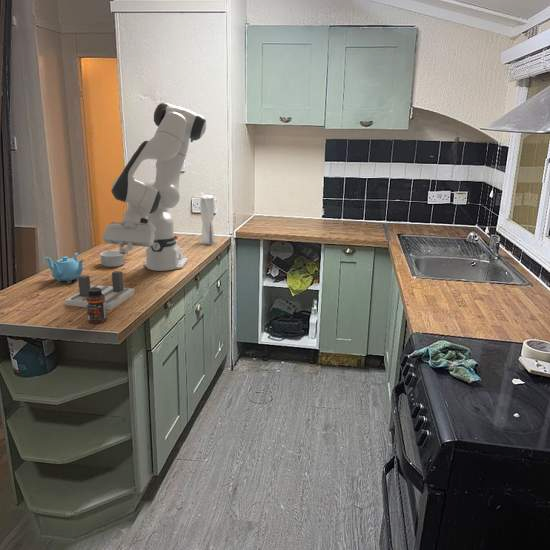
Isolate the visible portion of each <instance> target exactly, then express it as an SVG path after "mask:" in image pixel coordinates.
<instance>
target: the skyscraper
mask: <svg viewBox="0 0 550 550" xmlns="http://www.w3.org/2000/svg"><path fill="white" fill-rule="evenodd" d="M199 194H200V195H199V197H200V198H199V199H200V203H199V204H200V209H199V210H200V218H201V222H202V227H201V242H200V245H203V246H204V245H205V246H213V245H216V243H217V244H218V241H215V234H214V232H215V231H214V225H213V221H214V220H213V219H214V215H215V214H214V213H215V201H214V196H213V195H211V194H210V195H208V194H207V195H206V194H205V195H204V194H203V192H200V193H199Z"/></svg>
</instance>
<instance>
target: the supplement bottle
mask: <svg viewBox="0 0 550 550" xmlns="http://www.w3.org/2000/svg"><path fill="white" fill-rule="evenodd" d="M86 302H87V307H86V311H87V320H88V321H87V322H89V323H90V324H101V323H104V322H105V321H106V320H107V310H106V305H105V296H104V295H103V294H102V293H101V288H97V287H95V288H90V289H89V295H88V296H87V297H86Z"/></svg>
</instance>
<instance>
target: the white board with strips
mask: <svg viewBox="0 0 550 550" xmlns="http://www.w3.org/2000/svg"><path fill="white" fill-rule="evenodd" d="M95 287H97V288H101V293H102V294H103V295H104V296H105V305H106V311H107V310H108V311H112V310H113V309H114V308H116V307H117V306H119V305H120V304H121V303H123V302H125V301H126V300H127V299H129V298H130V297H132V296H133V295H135V292H136V291H135V288H130V287H123V288H124V290H122V291H120V292H113V286H109V285H99V284H90V288H95ZM64 304H65V306H69V307H70V306H71V307H79V308H80V307H81V308H87V302H86V297H83V296H80V292H77V293H75V294H73V295H71V296H70V297H68V298H66V299H65V300H64Z"/></svg>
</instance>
